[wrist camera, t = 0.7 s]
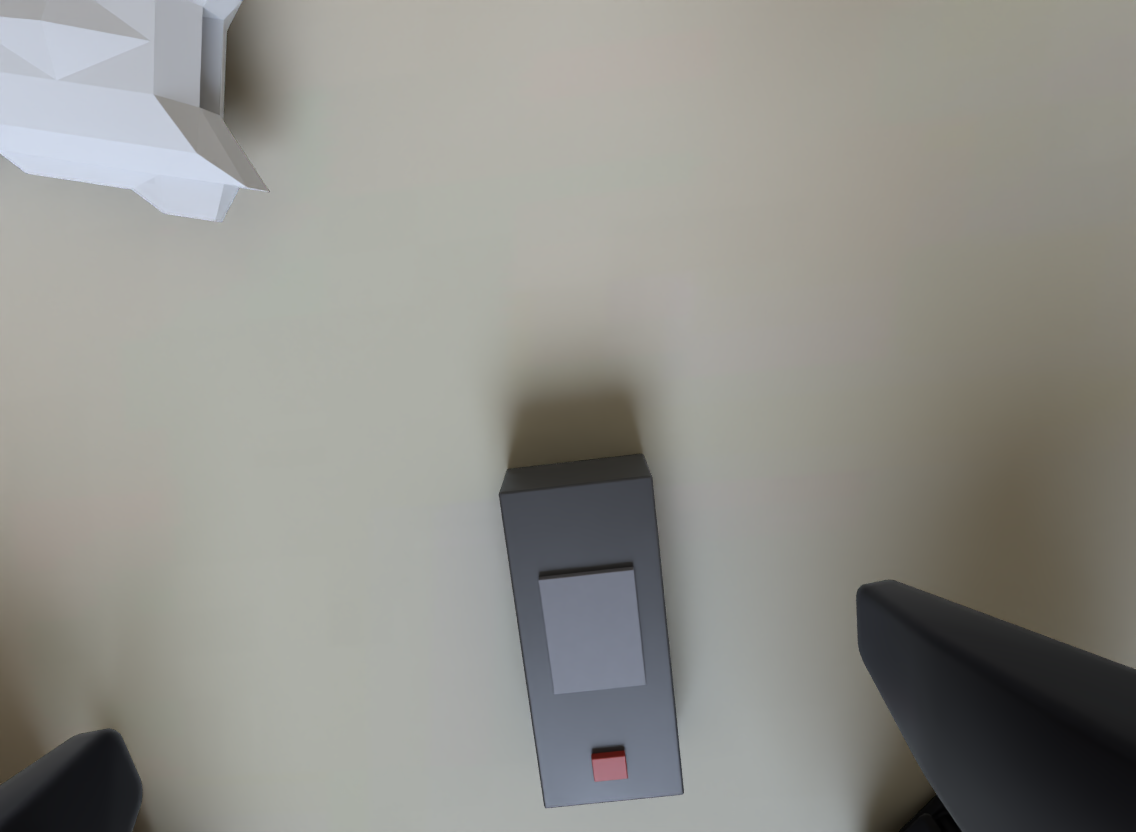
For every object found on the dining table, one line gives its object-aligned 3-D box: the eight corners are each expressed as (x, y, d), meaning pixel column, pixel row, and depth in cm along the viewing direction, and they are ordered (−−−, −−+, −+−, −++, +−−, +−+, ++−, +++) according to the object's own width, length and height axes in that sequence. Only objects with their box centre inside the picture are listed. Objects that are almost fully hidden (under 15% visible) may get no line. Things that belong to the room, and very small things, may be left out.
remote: (643, 453, 19) (653, 478, 17) (673, 742, 21) (685, 801, 19) (506, 468, 20) (497, 495, 17) (547, 755, 21) (544, 815, 19)
